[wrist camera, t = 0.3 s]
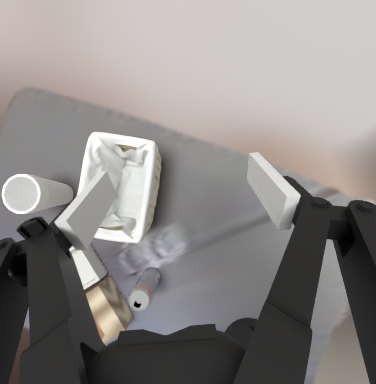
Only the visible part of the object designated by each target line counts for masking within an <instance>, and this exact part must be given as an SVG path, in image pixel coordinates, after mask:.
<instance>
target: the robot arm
mask: <svg viewBox="0 0 376 384" xmlns="http://www.w3.org/2000/svg"><path fill="white" fill-rule="evenodd" d="M247 181H248V183H249V184H250V186H251V187H252V189H253V191H254V192H255V194H256V195H257V197H258V199H259V200H260V202H261V203H262V205H263V207H264V208H265V210H266V211H267V213H268V215H269V216H270V218H271V219H272V221H273V223H274V224H275V226H276V227H277V229H278V230H286V229H290V228H291V225H292V223H293V224H294V225H295V227H294V230H293V232H292V235H291V238H290V240H289V243H288V245H287V248H286V250H285V253H284V256H283V258H282V261H281V263H280V266H279V269H278V271H277V274H276V276H275V279H274V281H273V284H272V287H271V289H270V292H269V294H268V297H267V299H266V301H265V303H264V306H263V308H262V311H261V313H260V316H259V318H258V320H255V319H249V318H246V319H240V320H238V321H236V322H234V323H232V324H231V325H230V326H229V327H228V329H227V330H226V332H225V333H223V332H220V331H217V330H216V328H215V324H206V325H193V326H189V327H187V328H184V329H182V330H179V331H177V332H174V333H172V334H170V335H161V334H158V333H154V332H150V331H147V330H143V329H141V330H128V331H120V332H119V336H118V339H117V340H115V341H113V342H111V343H110V344H108V345H107V346H105V344H104V343H103V341H102V340H101V337H100V335H99V332H98V329H97V326H96V323H95V320H94V317H93V314H92V311H91V308H90V306H89V303H88V300H87V297H86V294H85V291H84V288H83V285H82V282H81V279H80V276H79V273H78V270H77V267H76V265H75V262H74V259H73V256H72V253H71V252H70V250H69V249H70V247H71V246H73V247H74V248H75V250H76V251H77V250H87V248H88V247H89V245H90V243H91V241H92V239H93V238H94V236H95V234H96V232H97V230H98V229H99V227H100V225H101V223H102V222H103V220H104V218H105V216H106V214H107V213H108V211H109V209H110V207H111V205H112V204H113V202H114V200H115V198H116V196H117V193H116V190H115V188H114V186H113V183H112V181H111V179H110V177H109V174H108V172H107V171H101V172H98V173H97V175H96V176H95V177H94V178H93V179H92V180H91V181H90V182H89V184H88V185H87V186H86V187H85V188H84V189H83V190H82V191H81V193H80V194H79V195H78V196H77V197H76V198H75V199H74V200H73V201H72V202H71V203H69V204H68V205H66V207H65V208H64V209H63V210H62V211H61V212H60V213H59V215H57V216H56V218H55V219H54V220H53V221H52V222H51V223H50V224H49V225H48V224H47V223H46V221H45V220H44V219H43V218H42V217H34V218H32V219H29V220H27V221H25V222H24V223H22V224H21V225H20V226H19V227H18V228H17V231H18V232H19V233H20V234H21V235H22V236H23V237H24V238H25V239H26V240H22V241H19V242H15V241H14V240H13V239H12V238H5V239H2V240H0V384H8V383H9V379H10V375H11V371H12V367H13V363H14V360H15V356H16V352H17V348H18V344H19V341H20V337H21V333H22V329H23V326H24V322H25V318H26V314H27V310H28V307H29V323H30V347H29V348H27V349H26V350H25V351H23V353H22V354H21V356H20V384H304V380H305V375H306V369H307V363H308V358H309V352H310V346H311V340H312V330H311V328H310V324H311V318H312V313H313V308H314V303H315V297H316V292H317V287H318V282H319V277H320V271H321V266H322V261H323V256H324V250H325V245H326V240H327V239H331V240H333V243H334V247H335V251H336V255H337V258H338V262H339V266H340V270H341V274H342V278H343V282H344V285H345V289H346V293H347V297H348V301H349V305H350V309H351V312H352V316H353V320H354V324H355V328H356V332H357V336H358V339H359V343H360V347H361V351H362V355H363V358H364V362H365V366H366V370H367V374H368V378H369V382H370V384H376V205H375V204H373V203H370V202H367V201H362V200H354V201H351V202H349V204H348V206H347V207H342V206H332V204H331V203H330V202H329V201H327V200H325V199H322V198H319V197H313V196H312V195H311V194H310V193H308V192H307V191H306V190H305V189H304V188H303V187H301V185H300V184H298V182H296V181H295V180H294V179H293V178H291V177H288V176H281V175H280V174H279V173H278V172H277V171H276V170H275V169H274V168H273V167H272V166H271V165H270V164H269V163H268V162H267V161H266V160H265V159H264V158H263V157H262V156H261V155H260V154H259V153H258V152H257V153H249V161H248V172H247ZM9 274H10V276H9Z"/></svg>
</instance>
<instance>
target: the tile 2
mask: <svg viewBox="0 0 376 384" xmlns="http://www.w3.org/2000/svg"><path fill="white" fill-rule="evenodd" d="M94 320H95V319H94ZM95 323H96V326H97V329H98V332H99V335H100V337H101V340H102V338H103V337H104V333H103V331H102V330H101V328H100V326H99V325H98V323H97V321H96V320H95Z"/></svg>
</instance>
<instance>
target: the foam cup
mask: <svg viewBox="0 0 376 384" xmlns="http://www.w3.org/2000/svg"><path fill="white" fill-rule="evenodd" d="M73 194H74V193H73V189H72V188H71V187H70V186H69V185H67V184H64V183H60V182H56V181H52V180H48V179H44V178H40V177H37V176H35V175H28V174H16V175H14V176H13V177H11V178H9V179H8V180H7V182H6V183H5V184H4V186H3V190H2V198H3V202H4V204H5V206H6V207H7V208H8V209H9V210H10V211H12V212H14V213H16V214H26V213H35V212H37V211H40V210H44V209H48V208H52V207H56V206H60V205H64V204H67V203H69V202H70V201H71V200H72V198H73Z"/></svg>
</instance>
